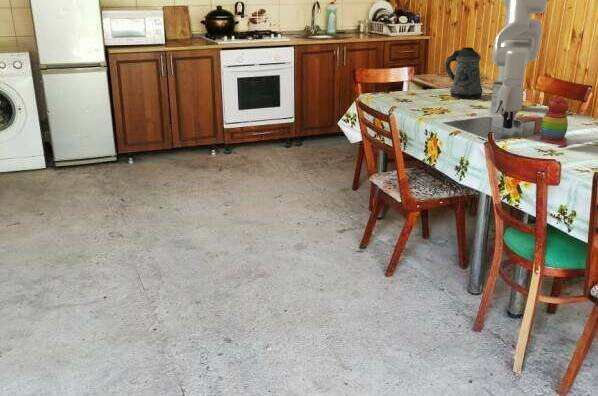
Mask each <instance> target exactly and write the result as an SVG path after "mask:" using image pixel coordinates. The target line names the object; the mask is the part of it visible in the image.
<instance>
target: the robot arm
mask: <svg viewBox="0 0 598 396" xmlns="http://www.w3.org/2000/svg"><path fill="white" fill-rule="evenodd" d="M502 3H503V4H504V6H505V7H504V8H505V11H506V13H505V22H504V27H503V28H502V29H501V30H500V31H499V32H498V33H497V35H496V36H495V39H494V41H493V46H492V47H493V48H492V56H491V59H492V60H491V61H492V64H493V65H494V66H497V67H498V71H497V77H496V78H497V80H496V82H499V81H503V84H502V86H501V88H500V91H499V94H498V99H497V106H496V109H497V110H499V113H498V114H499V115H502V116H503V118H504V122H503V128H506V129H511V128H512V123H513V119H514V117H515V115H516V116H517V114H519V113H520V112H521V109H522V108H523V102H524V77H525V69H526V66H527V65H528V64H529V63H530V62H534V61H535V60H536V59H537V58H538V56H539V55H538V54H539V50H540V45H541V44H540V43H541V37H542V32H543V24H542V22H541V20H540V19H538V18H530V16H531V14H534V15H535V14H537V15H538V14H543V13H544V12H545V11H546V10H547V9H546V8H547V6H548V5H547V4H548V0H502Z"/></svg>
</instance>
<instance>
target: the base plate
mask: <svg viewBox="0 0 598 396" xmlns="http://www.w3.org/2000/svg"><path fill="white" fill-rule="evenodd" d="M492 118H493V116H491V115H490V116H482V117H475V118H467V119H459V120H453V121H452V120H451V121H446V122H443V121H442V124H444V125H447V126H449V127H452V128H455V129H459V130H460V131H461V130H462V131H464V132H467V133H469V134H472V135H475V136H477V137H476V138H477V139H480V140H482V141H485V142H488V139H487V135H488V133H489V132H493V133H494V139H495V141H501V140H502V141H503V140H508V139H513V138H519V137H527V136H528V137H529V136H533V135H541V131H540V132H537V133H531V134H525V135H521V134H518V133H515V132H511V131H508V130H505V129H502V128H499V127H496V126H492ZM478 136H479V137H478Z"/></svg>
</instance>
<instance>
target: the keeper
mask: <svg viewBox="0 0 598 396" xmlns="http://www.w3.org/2000/svg"><path fill="white" fill-rule="evenodd" d="M516 119H517V120H520V121H527V120H534V121H535V126H534V133H537V132H541V123H542V121H543V116H541V115H537V114H534V115H526V116H520V117H519V118H516Z"/></svg>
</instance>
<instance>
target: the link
mask: <svg viewBox="0 0 598 396" xmlns="http://www.w3.org/2000/svg"><path fill="white" fill-rule="evenodd" d="M492 117H493V118H492V126H496V127H499V128H502V129H505V130H508V131H511V132H515V133H518V134H521V135H525V134H531V133H534V126H535V121H534V120H527V121H520V120H517V119H516V118H519V117H521V116H519V115H517V114H516V115H515V117H514V119H513V123H512V128H511V129H506V128H503V122H504V118H503V116H502V115H499V114H498V113H494V114H493V116H492Z"/></svg>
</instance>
